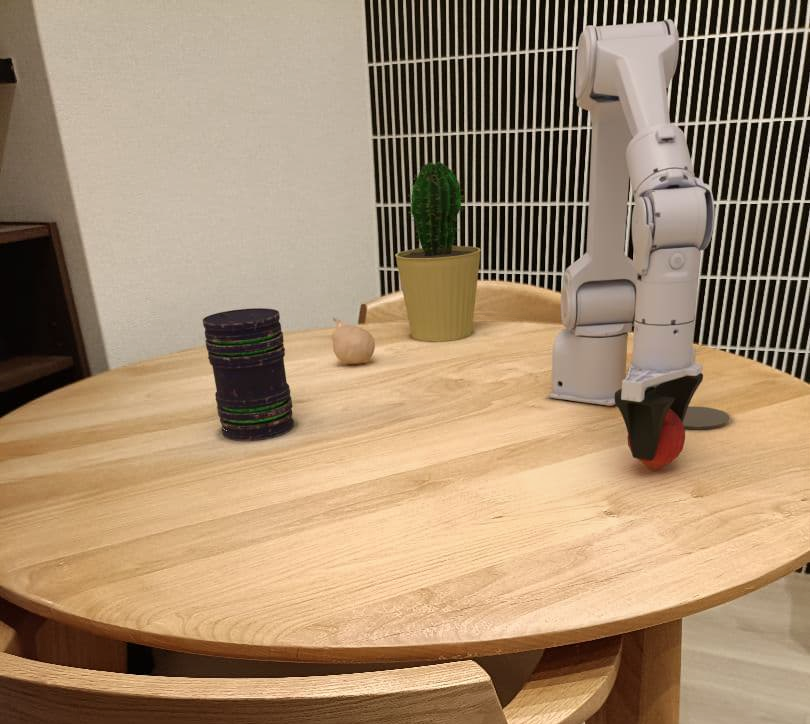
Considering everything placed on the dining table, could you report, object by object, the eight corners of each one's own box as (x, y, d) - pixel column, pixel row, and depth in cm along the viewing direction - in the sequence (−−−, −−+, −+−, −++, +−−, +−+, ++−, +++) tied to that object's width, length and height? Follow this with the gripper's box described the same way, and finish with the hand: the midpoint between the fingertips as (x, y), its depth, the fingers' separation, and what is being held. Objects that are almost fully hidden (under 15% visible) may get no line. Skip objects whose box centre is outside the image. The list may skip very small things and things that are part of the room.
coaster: (651, 424, 101) (651, 421, 101) (675, 406, 107) (675, 403, 107) (716, 433, 97) (716, 430, 96) (738, 414, 102) (738, 411, 102)
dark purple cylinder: (308, 420, 112) (295, 308, 105) (269, 444, 104) (251, 325, 98) (248, 414, 116) (231, 307, 109) (206, 437, 108) (185, 323, 102)
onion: (683, 461, 90) (689, 390, 86) (680, 481, 85) (687, 407, 81) (628, 458, 91) (632, 389, 88) (623, 478, 87) (627, 405, 83)
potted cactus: (394, 345, 148) (380, 163, 135) (407, 326, 162) (397, 159, 148) (479, 343, 145) (474, 157, 132) (485, 324, 159) (482, 153, 146)
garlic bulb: (353, 357, 142) (348, 310, 138) (382, 360, 139) (378, 312, 135) (328, 366, 137) (323, 318, 134) (358, 370, 134) (353, 321, 130)
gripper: (676, 338, 74) (665, 478, 80) (729, 307, 84) (716, 433, 90) (603, 332, 78) (598, 466, 84) (662, 303, 88) (654, 424, 94)
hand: (655, 448), depth 87 cm, fingers closed on onion, 6 cm apart
